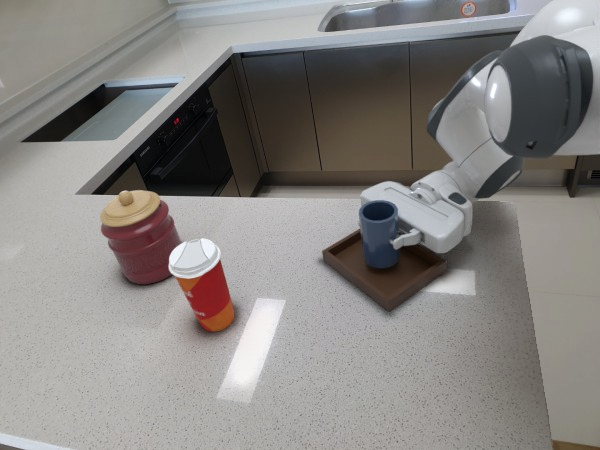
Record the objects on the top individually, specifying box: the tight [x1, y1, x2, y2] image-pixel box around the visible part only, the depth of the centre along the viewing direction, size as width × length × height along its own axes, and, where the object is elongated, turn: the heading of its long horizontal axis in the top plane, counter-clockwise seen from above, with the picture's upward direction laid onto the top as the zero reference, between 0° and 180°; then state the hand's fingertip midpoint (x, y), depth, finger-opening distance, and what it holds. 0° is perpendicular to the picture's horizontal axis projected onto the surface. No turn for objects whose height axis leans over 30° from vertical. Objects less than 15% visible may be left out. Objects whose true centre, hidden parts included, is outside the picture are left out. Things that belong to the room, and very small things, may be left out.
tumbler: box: [358, 200, 400, 268], centre depth 79 cm, size 6×6×10 cm
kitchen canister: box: [99, 189, 184, 285], centre depth 89 cm, size 13×13×18 cm
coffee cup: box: [169, 237, 235, 333], centre depth 75 cm, size 8×8×15 cm
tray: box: [321, 228, 448, 313], centre depth 83 cm, size 18×14×2 cm
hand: (376, 234), depth 79 cm, fingers closed on tumbler, 6 cm apart
